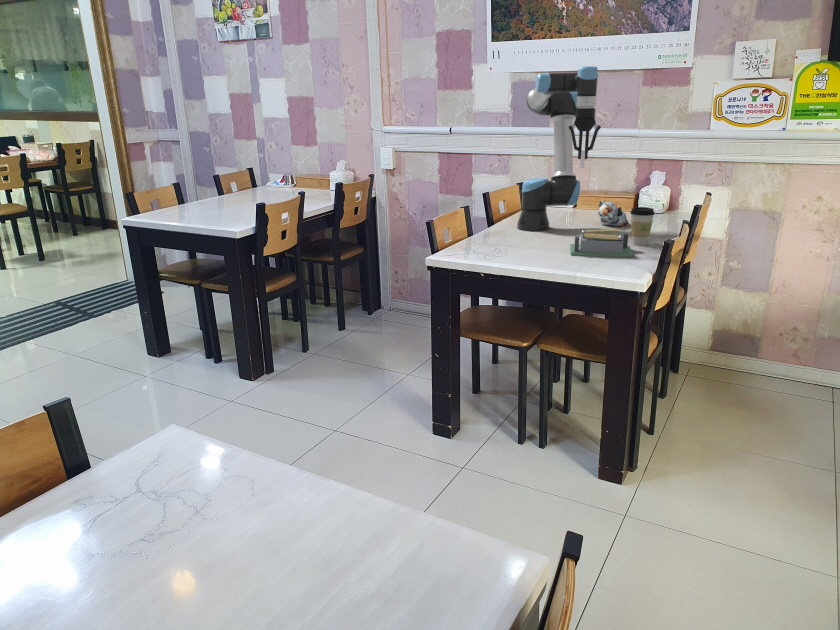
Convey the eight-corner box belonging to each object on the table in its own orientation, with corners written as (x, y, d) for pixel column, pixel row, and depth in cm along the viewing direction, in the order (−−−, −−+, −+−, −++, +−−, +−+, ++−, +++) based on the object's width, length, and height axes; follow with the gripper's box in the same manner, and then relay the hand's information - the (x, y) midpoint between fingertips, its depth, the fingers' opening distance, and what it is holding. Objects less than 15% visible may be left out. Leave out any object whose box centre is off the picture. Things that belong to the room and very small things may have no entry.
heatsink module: (570, 255, 263) (571, 238, 261) (570, 246, 277) (571, 230, 274) (632, 257, 258) (634, 239, 256) (629, 248, 272) (630, 231, 270)
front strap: (622, 238, 262) (622, 234, 261) (622, 240, 258) (623, 237, 257) (584, 236, 264) (584, 232, 264) (584, 238, 261) (584, 234, 260)
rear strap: (581, 235, 269) (581, 231, 269) (581, 233, 273) (581, 229, 272) (619, 233, 266) (619, 230, 266) (618, 231, 270) (618, 228, 269)
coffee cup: (653, 246, 274) (656, 211, 269) (628, 246, 276) (631, 210, 271) (650, 241, 283) (653, 207, 278) (626, 241, 285) (629, 206, 280)
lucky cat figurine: (632, 226, 312) (625, 203, 304) (608, 236, 314) (600, 213, 306) (621, 212, 324) (615, 189, 316) (598, 222, 326) (591, 199, 318)
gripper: (569, 108, 260) (565, 168, 268) (603, 107, 258) (598, 168, 265) (569, 107, 267) (565, 166, 275) (602, 107, 265) (597, 166, 272)
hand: (582, 167), depth 270 cm, fingers closed
